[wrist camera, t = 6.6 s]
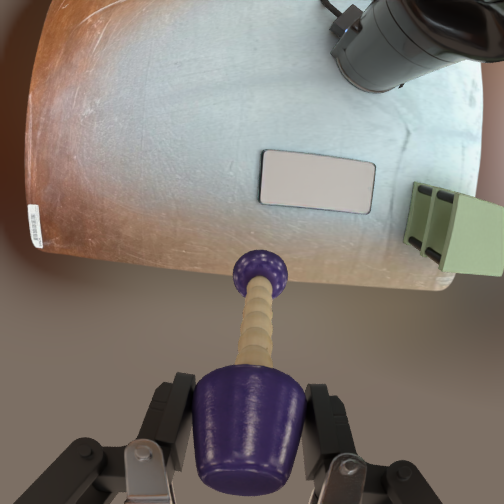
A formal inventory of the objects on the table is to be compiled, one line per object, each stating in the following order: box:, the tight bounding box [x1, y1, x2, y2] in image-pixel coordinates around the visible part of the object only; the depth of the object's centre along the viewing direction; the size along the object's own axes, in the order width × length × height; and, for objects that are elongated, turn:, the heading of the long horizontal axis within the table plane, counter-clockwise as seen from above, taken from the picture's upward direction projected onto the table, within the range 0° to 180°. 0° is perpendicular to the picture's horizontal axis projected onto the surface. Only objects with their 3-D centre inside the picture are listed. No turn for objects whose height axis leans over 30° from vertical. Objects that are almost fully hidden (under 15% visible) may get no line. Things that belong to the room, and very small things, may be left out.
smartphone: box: [258, 149, 376, 215], centre depth 35 cm, size 7×1×15 cm
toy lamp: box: [191, 250, 307, 496], centre depth 15 cm, size 5×5×17 cm
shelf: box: [403, 182, 504, 276], centre depth 31 cm, size 12×9×11 cm
